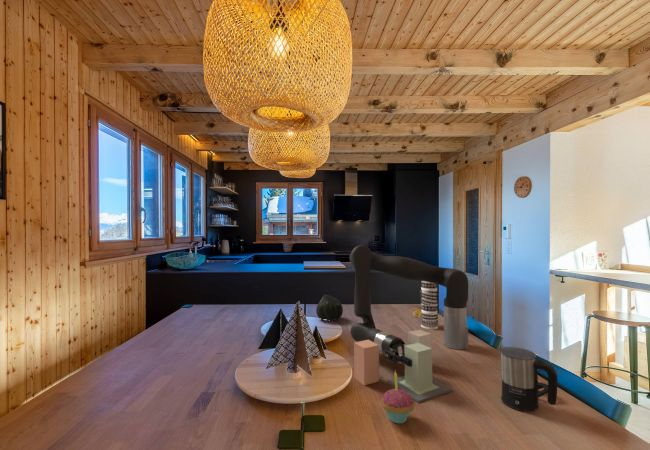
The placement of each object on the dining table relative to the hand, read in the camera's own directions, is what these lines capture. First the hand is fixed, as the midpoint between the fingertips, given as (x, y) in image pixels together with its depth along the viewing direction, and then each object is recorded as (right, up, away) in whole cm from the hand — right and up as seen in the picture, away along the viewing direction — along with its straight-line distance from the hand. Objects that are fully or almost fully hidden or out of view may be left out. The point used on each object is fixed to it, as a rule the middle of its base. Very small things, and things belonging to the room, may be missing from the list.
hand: (421, 360), depth 99 cm
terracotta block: (-17, -9, +6) cm, 20 cm away
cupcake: (-11, -9, -16) cm, 21 cm away
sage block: (-1, -8, +1) cm, 8 cm away
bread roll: (+26, -11, +83) cm, 87 cm away
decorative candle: (+24, -10, +63) cm, 68 cm away
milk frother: (+29, -9, -7) cm, 31 cm away
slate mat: (-1, -9, +1) cm, 9 cm away
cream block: (+5, -9, +17) cm, 20 cm away
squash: (-28, -11, +77) cm, 83 cm away
